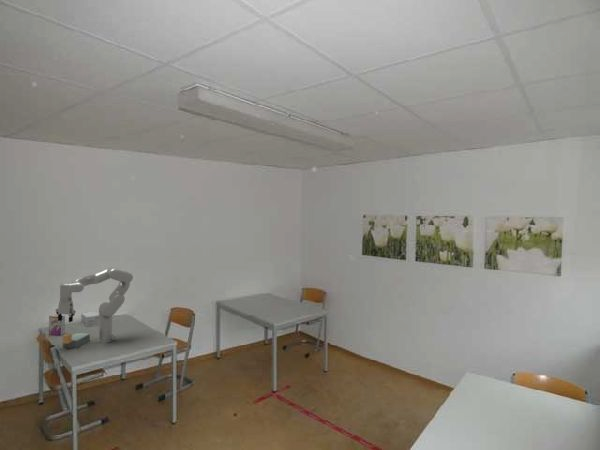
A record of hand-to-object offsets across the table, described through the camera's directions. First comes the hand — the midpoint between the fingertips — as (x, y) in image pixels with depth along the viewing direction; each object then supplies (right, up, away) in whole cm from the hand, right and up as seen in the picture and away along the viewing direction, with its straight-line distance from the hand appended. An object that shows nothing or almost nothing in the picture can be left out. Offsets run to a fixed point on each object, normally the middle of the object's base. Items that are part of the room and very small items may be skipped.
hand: (65, 321), depth 274 cm
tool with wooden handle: (+3, -16, +6) cm, 18 cm away
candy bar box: (-28, -20, +30) cm, 46 cm away
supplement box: (-16, -20, +62) cm, 67 cm away
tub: (+3, -21, +9) cm, 23 cm away
